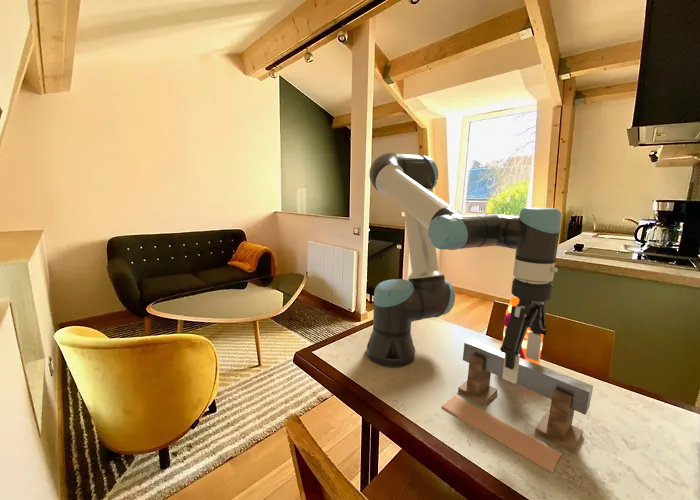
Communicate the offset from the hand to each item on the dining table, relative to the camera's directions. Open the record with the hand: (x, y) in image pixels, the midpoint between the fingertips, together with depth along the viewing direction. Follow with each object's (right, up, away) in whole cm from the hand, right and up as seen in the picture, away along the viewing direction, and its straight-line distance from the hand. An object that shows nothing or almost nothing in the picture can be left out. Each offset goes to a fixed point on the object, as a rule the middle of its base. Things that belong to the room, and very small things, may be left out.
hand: (521, 369), depth 70 cm
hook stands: (0, -11, +2) cm, 11 cm away
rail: (0, -3, +1) cm, 3 cm away
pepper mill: (+6, -8, +17) cm, 20 cm away
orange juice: (+13, -7, +25) cm, 29 cm away
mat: (-7, -12, -3) cm, 14 cm away
